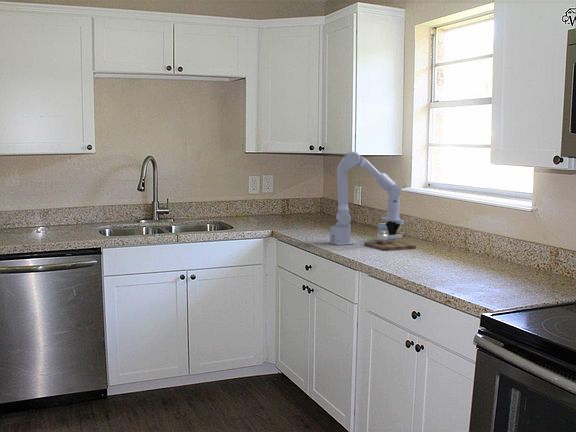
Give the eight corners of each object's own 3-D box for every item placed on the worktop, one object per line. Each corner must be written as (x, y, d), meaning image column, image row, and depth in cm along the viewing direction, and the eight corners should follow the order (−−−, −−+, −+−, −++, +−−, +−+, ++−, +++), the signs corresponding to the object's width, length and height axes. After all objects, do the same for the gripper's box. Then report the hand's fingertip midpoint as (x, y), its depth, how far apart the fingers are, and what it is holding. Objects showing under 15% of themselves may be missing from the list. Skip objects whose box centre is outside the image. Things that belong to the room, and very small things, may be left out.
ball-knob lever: (381, 244, 308) (381, 232, 308) (374, 242, 313) (375, 231, 312) (407, 242, 316) (407, 230, 315) (400, 240, 320) (401, 229, 319)
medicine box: (380, 241, 327) (381, 224, 326) (376, 240, 331) (377, 223, 330) (394, 241, 329) (395, 224, 328) (391, 239, 333) (392, 222, 332)
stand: (384, 250, 300) (385, 247, 300) (364, 245, 314) (364, 241, 314) (415, 248, 309) (415, 245, 309) (394, 243, 323) (394, 239, 323)
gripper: (409, 211, 312) (408, 239, 313) (390, 207, 324) (389, 235, 326) (398, 211, 308) (396, 240, 310) (379, 208, 321) (377, 235, 323)
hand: (392, 237), depth 318 cm, fingers closed
